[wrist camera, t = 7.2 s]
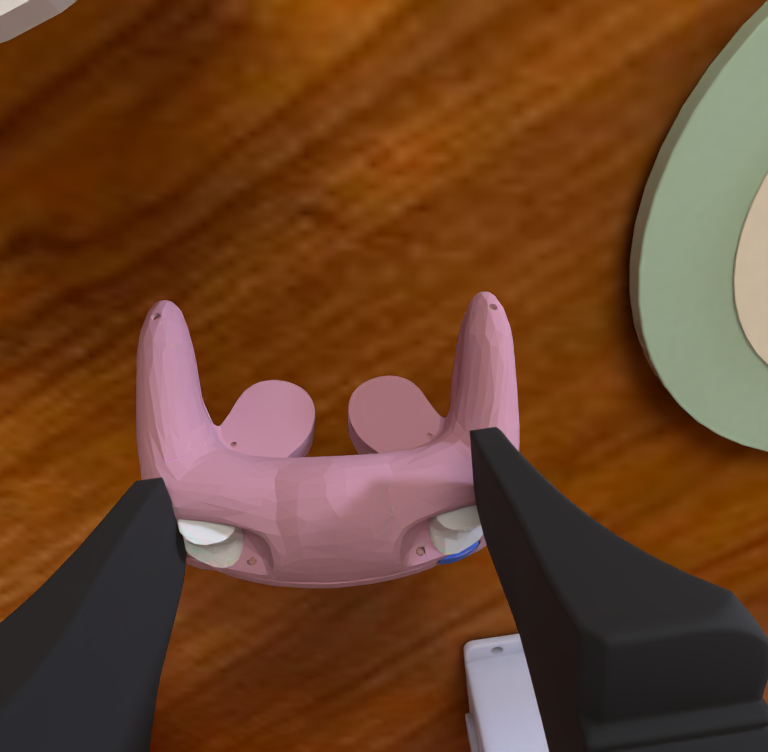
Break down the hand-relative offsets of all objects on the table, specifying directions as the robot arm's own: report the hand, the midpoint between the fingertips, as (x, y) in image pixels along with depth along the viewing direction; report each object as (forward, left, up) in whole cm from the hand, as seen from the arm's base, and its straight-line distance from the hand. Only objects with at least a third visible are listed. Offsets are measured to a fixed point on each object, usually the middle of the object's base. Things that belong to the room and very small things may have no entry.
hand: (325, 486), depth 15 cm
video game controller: (0, 0, -5) cm, 5 cm away
